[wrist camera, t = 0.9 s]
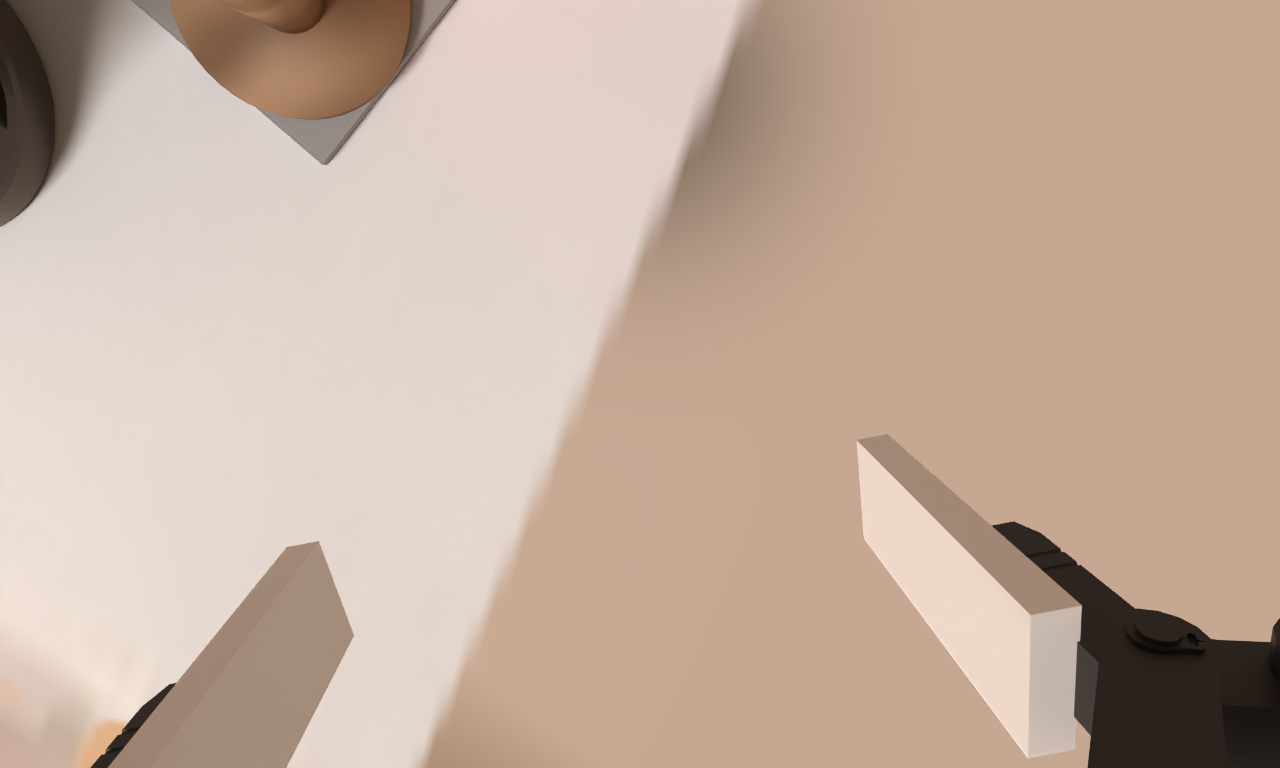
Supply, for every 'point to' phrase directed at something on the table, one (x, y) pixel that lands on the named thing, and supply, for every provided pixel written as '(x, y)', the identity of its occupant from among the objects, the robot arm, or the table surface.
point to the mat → (332, 132)
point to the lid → (298, 50)
